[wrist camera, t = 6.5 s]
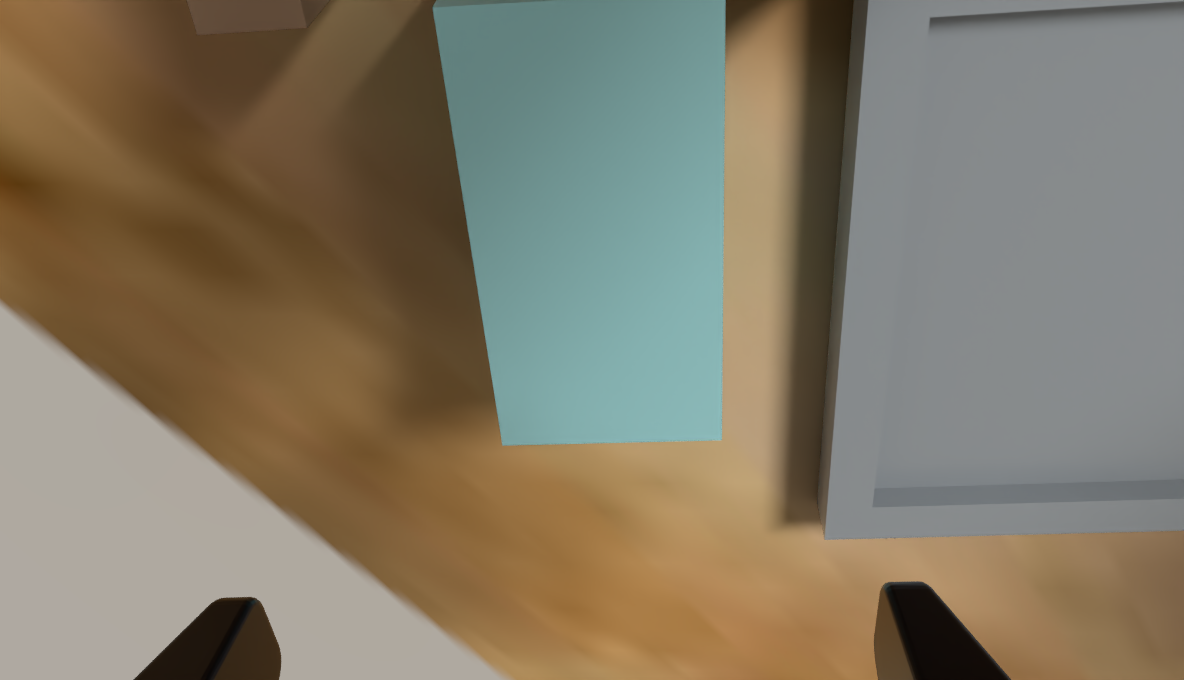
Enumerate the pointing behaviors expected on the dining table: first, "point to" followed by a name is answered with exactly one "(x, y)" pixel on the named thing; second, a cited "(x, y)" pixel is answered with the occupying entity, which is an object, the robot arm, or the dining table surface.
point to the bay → (252, 15)
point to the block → (594, 210)
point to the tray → (1008, 272)
